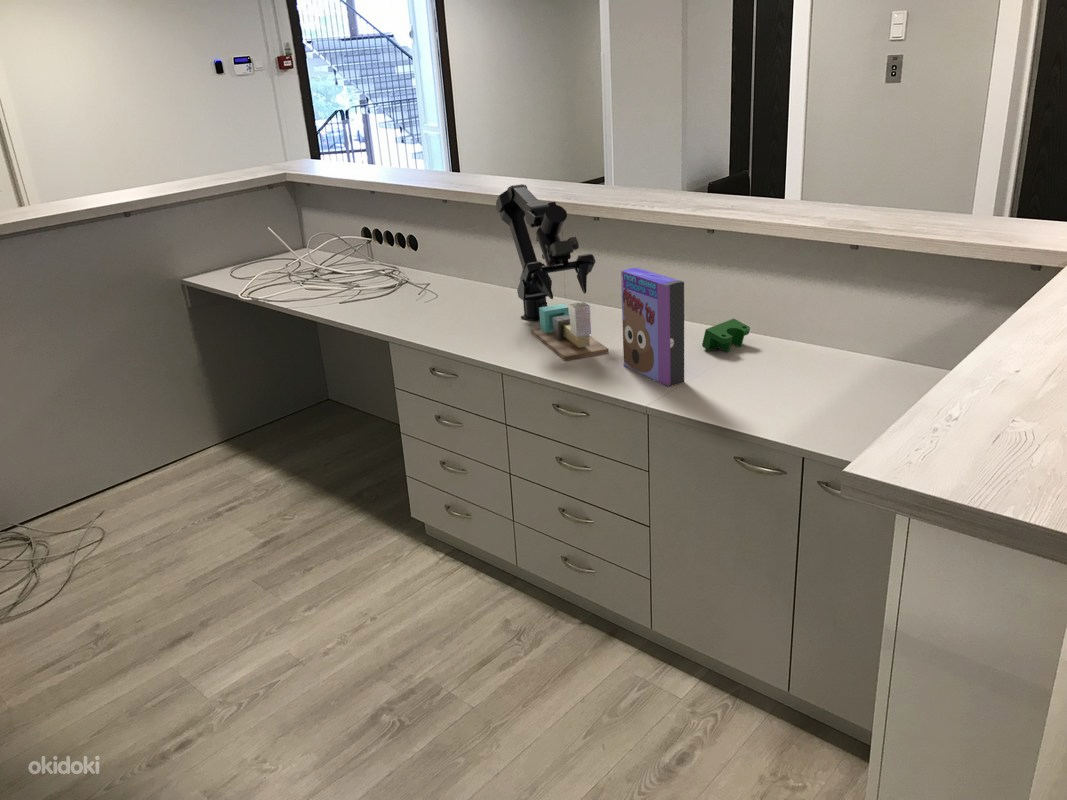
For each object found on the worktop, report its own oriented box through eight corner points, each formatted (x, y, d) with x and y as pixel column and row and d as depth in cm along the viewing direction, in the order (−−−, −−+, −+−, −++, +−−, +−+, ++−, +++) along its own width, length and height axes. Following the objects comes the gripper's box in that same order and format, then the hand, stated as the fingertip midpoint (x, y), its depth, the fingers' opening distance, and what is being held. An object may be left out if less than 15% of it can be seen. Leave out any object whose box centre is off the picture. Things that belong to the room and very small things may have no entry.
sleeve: (553, 336, 236) (552, 317, 233) (572, 333, 237) (571, 314, 235) (559, 340, 232) (557, 321, 230) (577, 337, 234) (576, 317, 231)
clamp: (721, 368, 220) (719, 343, 214) (703, 358, 224) (700, 333, 217) (752, 341, 224) (751, 315, 217) (734, 331, 228) (732, 306, 221)
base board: (531, 332, 243) (531, 329, 242) (571, 325, 246) (571, 322, 246) (565, 360, 220) (564, 356, 220) (608, 352, 224) (608, 348, 224)
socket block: (540, 328, 242) (539, 307, 240) (564, 324, 244) (562, 303, 242) (545, 332, 239) (544, 311, 236) (569, 328, 241) (568, 307, 238)
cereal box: (623, 366, 214) (620, 270, 205) (639, 361, 216) (637, 266, 207) (667, 387, 200) (666, 284, 191) (684, 382, 202) (684, 280, 193)
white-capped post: (555, 331, 236) (552, 293, 232) (569, 328, 237) (566, 291, 233) (577, 347, 222) (575, 308, 218) (591, 345, 223) (589, 305, 219)
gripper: (523, 232, 222) (541, 284, 217) (591, 222, 227) (610, 273, 222) (515, 256, 232) (532, 307, 226) (581, 247, 237) (599, 296, 232)
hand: (568, 295), depth 226 cm, fingers open, 9 cm apart
